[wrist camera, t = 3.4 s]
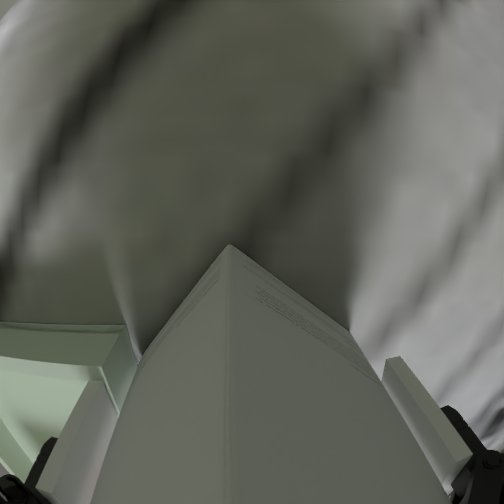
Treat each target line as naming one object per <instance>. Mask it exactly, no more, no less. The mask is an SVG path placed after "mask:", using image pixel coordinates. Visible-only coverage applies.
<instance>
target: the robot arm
mask: <svg viewBox="0 0 504 504" xmlns="http://www.w3.org/2000/svg"><path fill="white" fill-rule="evenodd" d="M381 382H382V384H383V386H384V387H385V389H386V391H387V392H388V394H389V395H390V397H391V399H392V400H393V402H394V404H395V405H396V407H397V409H398V410H399V412H400V414H401V415H402V417H403V419H404V420H405V422H406V424H407V425H408V427H409V429H410V430H411V432H412V434H413V435H414V437H415V439H416V441H417V442H418V444H419V446H420V448H421V449H422V451H423V453H424V454H425V456H426V458H427V460H428V461H429V463H430V465H431V467H432V469H433V470H434V472H435V474H436V475H437V477H438V479H439V481H440V483H441V484H442V486H443V488H444V490H445V492H446V490H447V489H448V488H449V487H450V485H451V486H452V488H453V489H454V490H453V491H452V492H451V494H450V495H449V496H448V497H449V499H450V501H451V503H452V504H504V453H503V454H500V453H499V452H498V451H495V450H487V449H486V448H485V447H484V445H483V444H482V443H481V441H480V440H479V439H478V437H477V436H476V435H475V433H474V432H473V431H472V429H471V428H470V427H468V424H467V423H466V422H465V420H463V418H462V416H461V415H460V414H459V413H458V411H457V410H455V409H453V408H452V407H450V406H449V405H447V406H445V407H442V408H439V406H438V405H437V404H436V402H435V401H434V399H433V398H432V397H431V396H430V394H429V393H428V392H427V390H426V389H425V388H424V386H423V385H422V384H421V382H420V381H419V380H418V378H417V377H416V376H415V375H414V373H413V372H412V371H411V369H410V368H409V367H408V366H407V364H406V363H405V362H404V361H403V359H402V358H401V357H400V356H398V357H394V358H389V359H386V362H385V367H384V372H383V377H382V381H381ZM117 420H118V416H117V414H116V412H115V410H114V407H113V405H112V403H111V400H110V398H109V396H108V393H107V391H106V389H105V386H104V384H103V381H94V380H89V381H88V383H87V384H86V386H85V388H84V390H83V392H82V393H81V395H80V397H79V399H78V401H77V403H76V405H75V407H74V408H73V410H72V412H71V414H70V416H69V418H68V420H67V422H66V424H65V426H64V428H63V430H62V432H61V434H60V436H59V438H55V437H51V438H49V439H48V440H47V441H46V442H45V443H44V444H43V446H42V448H41V450H40V452H39V453H40V454H38V456H37V458H36V461H35V462H34V464H33V466H32V468H31V470H30V472H29V475H28V477H27V479H26V481H25V483H23V482H22V481H21V480H20V479H19V478H18V477H17V476H15V475H12V474H8V475H4V476H2V477H1V478H0V504H90V503H91V500H92V496H93V493H94V490H95V486H96V483H97V480H98V477H99V474H100V471H101V467H102V464H103V461H104V458H105V455H106V452H107V449H108V446H109V443H110V440H111V437H112V435H113V432H114V429H115V426H116V423H117Z"/></svg>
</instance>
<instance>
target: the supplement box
mask: <svg viewBox="0 0 504 504" xmlns="http://www.w3.org/2000/svg"><path fill="white" fill-rule="evenodd" d="M90 504H452V503H451V501H450V499H449V497H448V495H447V493H446V492H445V490H444V488H443V486H442V484H441V483H440V481H439V479H438V477H437V475H436V474H435V472H434V470H433V469H432V467H431V465H430V463H429V461H428V460H427V458H426V456H425V454H424V453H423V451H422V449H421V448H420V446H419V444H418V442H417V441H416V439H415V437H414V435H413V434H412V432H411V430H410V429H409V427H408V425H407V424H406V422H405V420H404V419H403V417H402V415H401V414H400V412H399V410H398V409H397V407H396V405H395V404H394V402H393V400H392V399H391V397H390V395H389V394H388V392H387V391H386V389H385V387H384V386H383V384H382V382H381V381H380V379H379V378H378V376H377V374H376V373H375V371H374V370H373V368H372V366H371V365H370V363H369V362H368V360H367V358H366V357H365V355H364V354H363V352H362V350H361V349H360V347H359V346H358V344H357V343H356V341H355V339H354V338H353V336H352V335H351V333H350V332H349V331H347V330H346V329H345V328H343V327H342V326H341V325H339V324H338V323H337V322H335V321H334V320H333V319H331V318H330V317H329V316H327V315H326V314H325V313H323V312H322V311H321V310H319V309H318V308H317V307H315V306H314V305H313V304H311V303H310V302H309V301H307V300H306V299H304V298H303V297H302V296H300V295H299V294H298V293H296V292H295V291H294V290H292V289H291V288H290V287H288V286H287V285H286V284H284V283H283V282H282V281H280V280H279V279H277V278H276V277H275V276H273V275H272V274H271V273H269V272H268V271H267V270H265V269H264V268H263V267H261V266H260V265H259V264H257V263H256V262H255V261H253V260H252V259H251V258H249V257H248V256H247V255H245V254H244V253H242V252H241V251H240V250H238V249H237V248H235V247H234V246H232V245H227V246H226V247H225V248H224V250H223V251H222V252H221V253H220V255H219V256H218V257H217V258H216V260H215V261H214V262H213V263H212V265H211V266H210V267H209V269H208V270H207V271H206V272H205V274H204V275H203V276H202V277H201V279H200V280H199V281H198V283H197V284H196V285H195V286H194V288H193V289H192V290H191V292H190V293H189V294H188V296H187V297H186V298H185V299H184V301H183V302H182V303H181V305H180V306H179V307H178V309H177V310H176V311H175V312H174V314H173V315H172V316H171V318H170V319H169V320H168V322H167V323H166V324H165V326H164V327H163V328H162V329H161V331H160V332H159V333H158V335H157V336H156V337H155V339H154V340H153V341H152V342H151V344H150V345H149V347H148V348H147V349H146V351H145V352H144V354H143V356H142V358H141V360H140V362H139V365H138V367H137V370H136V373H135V375H134V378H133V380H132V383H131V385H130V388H129V390H128V393H127V396H126V398H125V401H124V404H123V406H122V409H121V412H120V415H119V417H118V420H117V423H116V426H115V429H114V432H113V435H112V437H111V440H110V443H109V446H108V449H107V452H106V455H105V458H104V461H103V464H102V467H101V471H100V474H99V477H98V480H97V483H96V486H95V490H94V493H93V496H92V500H91V503H90Z"/></svg>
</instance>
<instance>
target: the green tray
mask: <svg viewBox="0 0 504 504" xmlns="http://www.w3.org/2000/svg"><path fill="white" fill-rule="evenodd" d="M137 367H138V366H137V363H136V359H135V356H134V352H133V349H132V346H131V342H130V338H129V335H128V331H127V327H126V325H73V324H39V323H18V322H1V321H0V462H1V463H2V465H3V466H4V467H5V468H6V470H7V471H8V472H9V473H10V474H12V475H15V476H17V477H18V478H19V479H20V480H21V481H22V482H23V483H25V481H26V479H27V477H28V475H29V472H30V470H31V468H32V466H33V464H34V462H35V461H36V458H37V456H38V454H40V453H39V452H40V450H41V448H42V446H43V444H44V443H45V442H46V441H47V440H48V439H49V438H51V437H55V438H59V436H60V434H61V432H62V430H63V428H64V426H65V424H66V422H67V420H68V418H69V416H70V414H71V412H72V410H73V408H74V407H75V405H76V403H77V401H78V399H79V397H80V395H81V393H82V392H83V390H84V388H85V386H86V384H87V383H88V381H89V380H94V381H103V384H104V386H105V389H106V391H107V393H108V396H109V398H110V400H111V403H112V405H113V407H114V410H115V412H116V414H117V416H118V417H119V415H120V412H121V409H122V406H123V404H124V401H125V398H126V396H127V393H128V390H129V388H130V385H131V383H132V380H133V378H134V375H135V373H136V370H137Z"/></svg>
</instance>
